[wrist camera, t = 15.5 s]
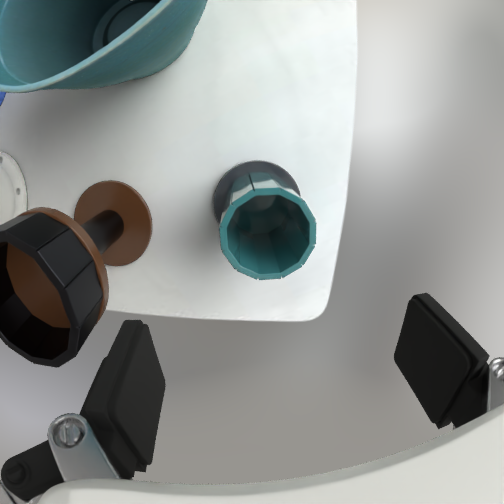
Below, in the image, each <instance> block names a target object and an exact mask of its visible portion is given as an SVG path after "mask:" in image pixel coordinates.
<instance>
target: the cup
mask: <svg viewBox="0 0 504 504" xmlns="http://www.w3.org/2000/svg"><path fill="white" fill-rule="evenodd" d="M219 231H220V242H221V250H222V253H223V254H224V255H225V257H226V258H227V259H228V261H229V262H230V263H231V265H232V266H233V267H234V269H237V271H238V272H241V273H243V274H245V275H247V276H250V277H252V278H254V279H259V280H267V279H281V276H282V278H284V277H285V276H287V275H289V274H291V273H292V272H294V271H296V270H297V269H299V268H301V267H302V265H304V264H305V262H306V260H307V259H308V257H309V255H310V254H311V252H312V250H313V249H314V247H315V244H316V221H315V218H314V216H313V214H312V213H311V211H310V209H309V208H308V206H307V204H306V202H305V201H304V200H303V199H302V198H301V197H300V196H299V195H298V194H297V193H296V192H295V191H294V190H293V189H291V188H290V187H289V186H288V185H287V184H286V183H285V182H284V181H283V180H282V179H280V178H278V177H276V176H274V175H272V174H270V173H269V172H249V174H248V173H247V174H245V175H243V176H242V177H240V178H239V179H237V180H236V181H234V183H232V185H231V187H230V189H229V191H228V193H227V195H226V197H225V202H224V206H223V211H222V216H221V221H220V227H219ZM301 264H302V265H301Z"/></svg>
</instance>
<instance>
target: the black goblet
mask: <svg viewBox="0 0 504 504" xmlns="http://www.w3.org/2000/svg"><path fill="white" fill-rule="evenodd" d="M151 235H152V218H151V214H150V211H149V208H148V206H147V204H146V202H145V201H144V199H143V198H142V196H141V195H140V194H139V193H138V192H137V191H136V190H135V189H133V188H132V187H131V186H129V185H127V184H125V183H122V182H119V181H112V180H109V181H102V182H99V183H96V184H94V185H92V186H91V187H89V188H88V189H87V190H86V191H85V192H84V193H83V194H82V195H81V197H80V199H79V201H78V203H77V205H76V208H75V214H74V220H73V219H72V218H71V217H69V216H68V215H66V214H64V213H62V212H60V211H58V210H55V209H51V208H45V207H39V208H33V209H30V210H28V211H25V212H23V213H21V214H20V215H18V216H17V217H15V218H13V219H11V220H9V221H7V222H5V223H3V224H2V225H0V338H1V339H2V340H3V342H4V343H5V344H6V345H8V347H9V348H11V349H12V350H14V351H15V352H17V353H18V354H20V355H21V356H23V357H24V358H26V359H27V360H29V361H31V362H33V363H34V364H40V365H45V366H51V367H60V366H61V365H63V364H65V363H66V362H68V361H69V360H71V359H73V358H74V357H76V355H77V354H78V352H79V350H80V348H81V347H82V345H83V344H84V342H85V340H86V339H87V337H88V336H89V334H90V332H91V331H92V329H93V328H94V326H95V325H96V324H97V322H98V321H99V319H100V318H101V316H102V315H103V313H104V311H105V309H106V306H107V302H108V296H109V284H108V277H107V272H106V268H105V265H104V264H107V265H111V266H122V265H126V264H129V263H132V262H133V261H135V260H137V259H138V258H139V257H140V256H141V255H142V254H143V253H144V251H145V250H146V248H147V247H148V244H149V242H150V239H151Z"/></svg>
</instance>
